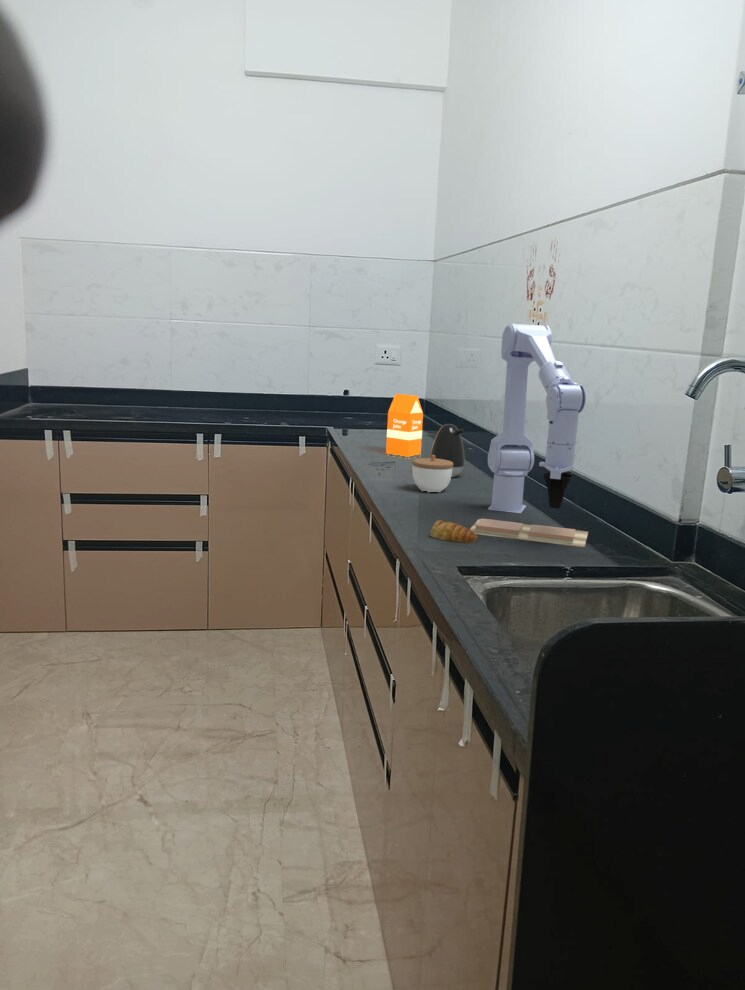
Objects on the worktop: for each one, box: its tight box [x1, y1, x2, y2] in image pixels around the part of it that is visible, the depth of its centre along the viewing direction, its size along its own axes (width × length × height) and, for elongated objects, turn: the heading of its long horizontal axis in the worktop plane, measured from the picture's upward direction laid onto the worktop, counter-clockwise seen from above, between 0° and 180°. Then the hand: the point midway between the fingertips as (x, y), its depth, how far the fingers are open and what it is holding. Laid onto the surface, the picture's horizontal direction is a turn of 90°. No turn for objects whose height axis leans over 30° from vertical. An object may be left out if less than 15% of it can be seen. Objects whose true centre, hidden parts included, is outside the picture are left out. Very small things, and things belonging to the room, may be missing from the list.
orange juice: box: [385, 393, 424, 457], centre depth 272 cm, size 8×9×20 cm
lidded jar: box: [411, 455, 453, 493], centre depth 218 cm, size 11×11×9 cm
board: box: [468, 518, 589, 548], centre depth 177 cm, size 14×24×1 cm, turn 72°
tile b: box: [528, 523, 576, 544], centre depth 173 cm, size 1×9×7 cm
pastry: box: [429, 520, 479, 544], centre depth 169 cm, size 9×7×4 cm
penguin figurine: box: [429, 423, 466, 478], centre depth 239 cm, size 10×10×15 cm
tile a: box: [475, 518, 524, 537], centre depth 177 cm, size 1×9×7 cm
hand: (554, 507), depth 174 cm, fingers closed
